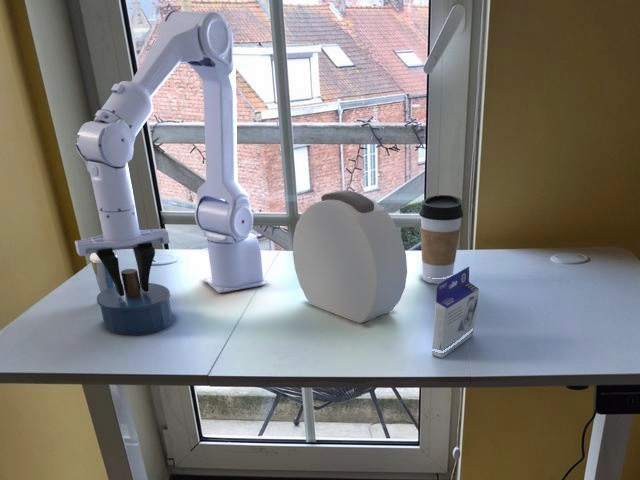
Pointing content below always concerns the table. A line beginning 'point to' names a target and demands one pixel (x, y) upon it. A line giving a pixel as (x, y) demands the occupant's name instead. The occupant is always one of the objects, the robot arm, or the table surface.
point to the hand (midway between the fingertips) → (133, 291)
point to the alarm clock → (349, 256)
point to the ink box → (454, 312)
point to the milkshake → (101, 273)
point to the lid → (133, 294)
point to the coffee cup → (439, 235)
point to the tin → (138, 320)
